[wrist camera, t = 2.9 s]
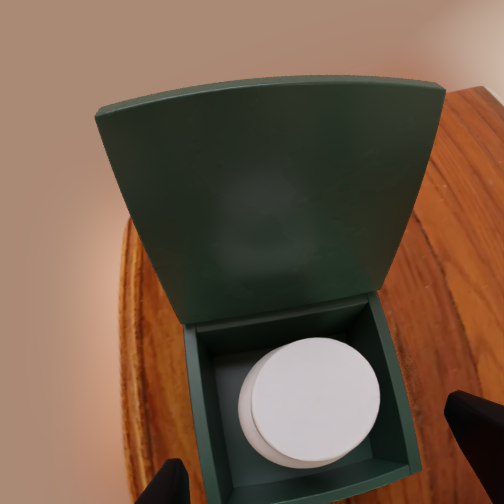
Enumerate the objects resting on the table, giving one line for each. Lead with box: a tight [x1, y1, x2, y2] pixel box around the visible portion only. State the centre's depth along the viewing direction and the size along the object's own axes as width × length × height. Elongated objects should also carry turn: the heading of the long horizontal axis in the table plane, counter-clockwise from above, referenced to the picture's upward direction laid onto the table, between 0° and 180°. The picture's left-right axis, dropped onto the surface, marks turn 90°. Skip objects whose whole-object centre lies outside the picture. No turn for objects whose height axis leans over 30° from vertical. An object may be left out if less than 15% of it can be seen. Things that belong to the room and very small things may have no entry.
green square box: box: [183, 291, 422, 504], centre depth 14 cm, size 9×9×6 cm
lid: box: [95, 75, 446, 324], centre depth 10 cm, size 10×9×1 cm
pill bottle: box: [238, 338, 380, 468], centre depth 12 cm, size 5×5×9 cm
